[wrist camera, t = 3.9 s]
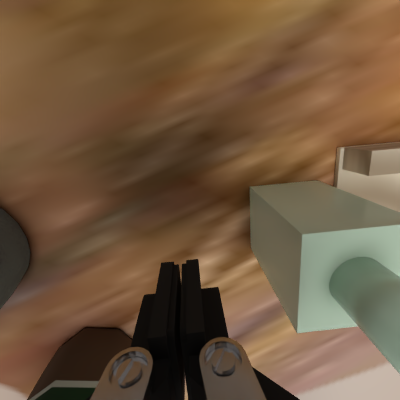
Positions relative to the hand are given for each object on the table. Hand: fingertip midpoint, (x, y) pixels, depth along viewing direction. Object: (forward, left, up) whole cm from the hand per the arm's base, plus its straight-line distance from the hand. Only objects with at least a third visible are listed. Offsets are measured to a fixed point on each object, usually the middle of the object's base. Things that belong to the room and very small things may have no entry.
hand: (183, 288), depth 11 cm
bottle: (0, +7, -7) cm, 10 cm away
